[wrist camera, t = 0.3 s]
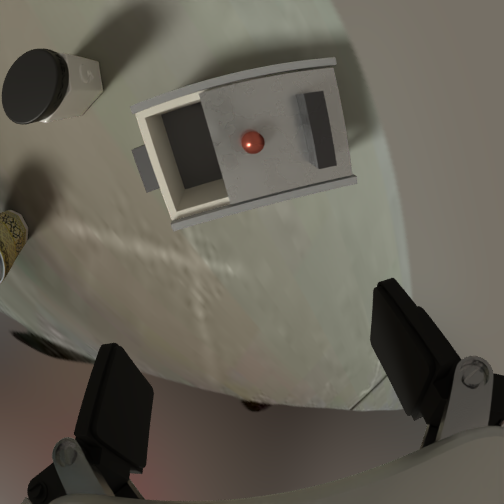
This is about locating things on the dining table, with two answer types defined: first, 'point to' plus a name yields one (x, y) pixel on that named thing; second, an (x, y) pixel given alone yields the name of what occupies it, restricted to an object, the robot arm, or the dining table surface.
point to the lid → (278, 133)
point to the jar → (50, 86)
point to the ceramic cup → (11, 239)
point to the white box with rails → (202, 151)
